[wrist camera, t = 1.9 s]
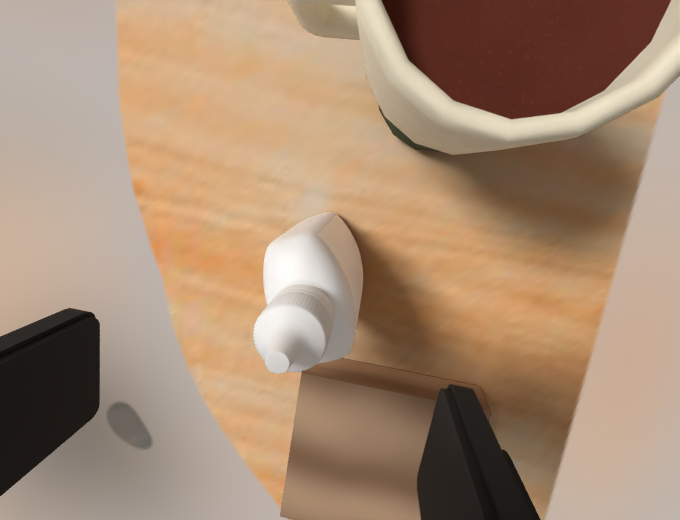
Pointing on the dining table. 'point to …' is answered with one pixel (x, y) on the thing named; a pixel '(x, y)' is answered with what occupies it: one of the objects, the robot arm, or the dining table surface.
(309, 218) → the eye dropper bottle
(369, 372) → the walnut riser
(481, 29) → the character mug
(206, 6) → the dining table surface
